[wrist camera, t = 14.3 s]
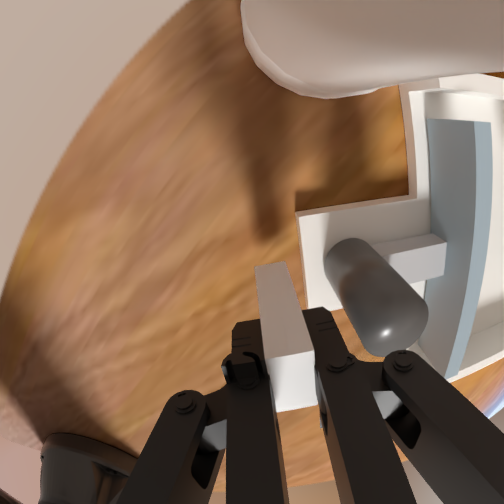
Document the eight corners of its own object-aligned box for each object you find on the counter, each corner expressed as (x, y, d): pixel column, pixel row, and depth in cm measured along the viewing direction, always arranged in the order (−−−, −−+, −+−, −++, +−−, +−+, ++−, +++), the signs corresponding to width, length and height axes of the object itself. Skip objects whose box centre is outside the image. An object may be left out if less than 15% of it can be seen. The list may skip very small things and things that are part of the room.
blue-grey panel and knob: (328, 368, 19) (352, 439, 14) (307, 125, 14) (352, 124, 8) (431, 339, 19) (471, 394, 14) (443, 118, 13) (520, 126, 8)
